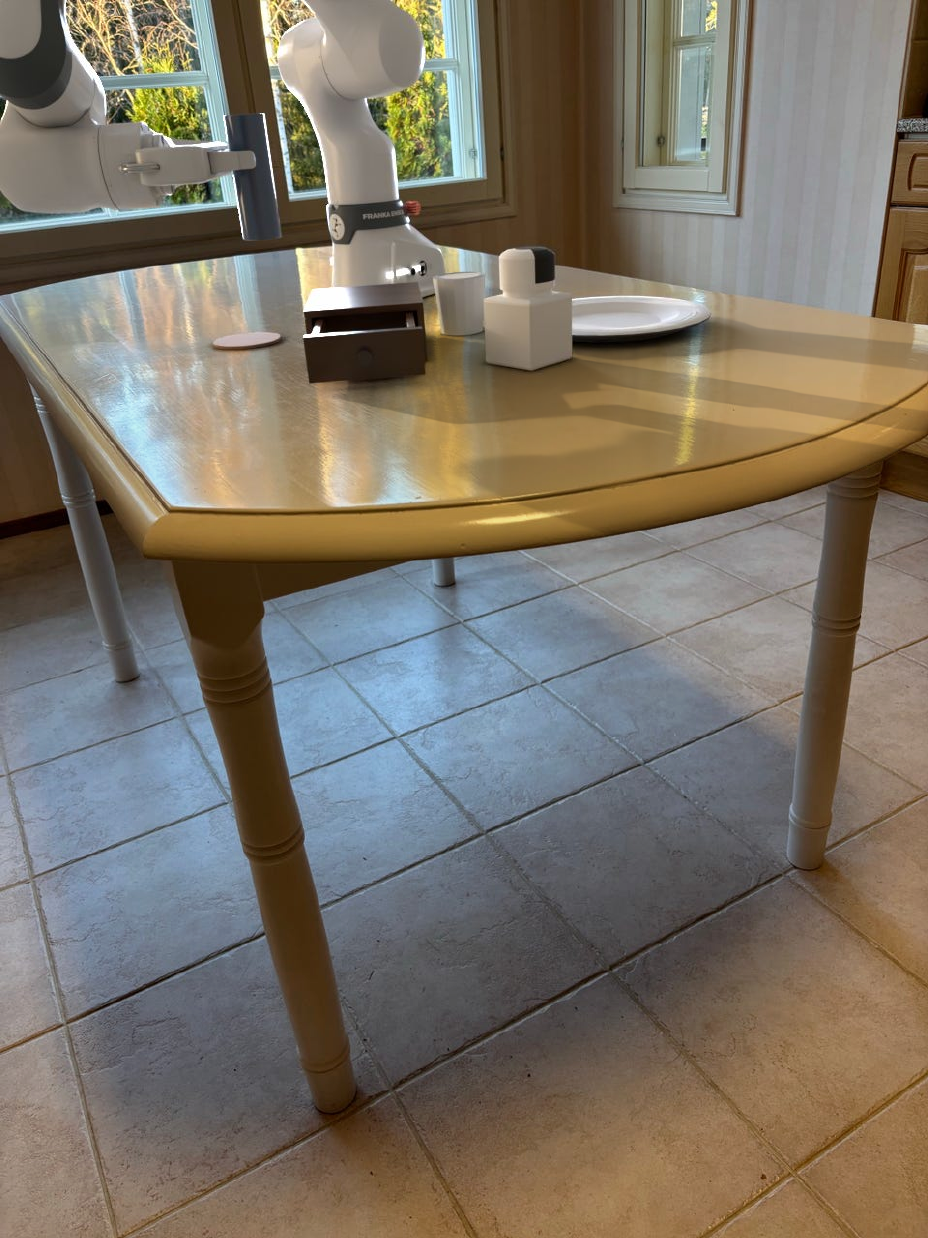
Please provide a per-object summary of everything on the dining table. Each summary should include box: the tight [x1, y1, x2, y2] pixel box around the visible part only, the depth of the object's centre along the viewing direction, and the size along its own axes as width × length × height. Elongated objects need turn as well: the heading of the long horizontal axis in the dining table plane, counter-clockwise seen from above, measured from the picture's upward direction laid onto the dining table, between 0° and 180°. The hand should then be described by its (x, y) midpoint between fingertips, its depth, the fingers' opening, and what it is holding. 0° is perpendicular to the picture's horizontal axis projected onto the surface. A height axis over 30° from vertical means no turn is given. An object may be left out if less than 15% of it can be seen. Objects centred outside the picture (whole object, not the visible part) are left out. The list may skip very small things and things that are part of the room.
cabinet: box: [302, 282, 428, 362], centre depth 110 cm, size 16×14×7 cm
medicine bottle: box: [483, 246, 573, 372], centre depth 99 cm, size 7×7×12 cm
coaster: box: [212, 331, 282, 351], centre depth 120 cm, size 9×9×1 cm
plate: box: [572, 295, 712, 344], centre depth 115 cm, size 25×25×2 cm
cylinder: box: [223, 112, 283, 242], centre depth 105 cm, size 5×5×13 cm
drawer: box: [302, 311, 427, 384], centre depth 100 cm, size 16×12×5 cm
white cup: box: [433, 271, 486, 336], centre depth 117 cm, size 7×7×7 cm
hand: (258, 158), depth 104 cm, fingers closed on cylinder, 4 cm apart
